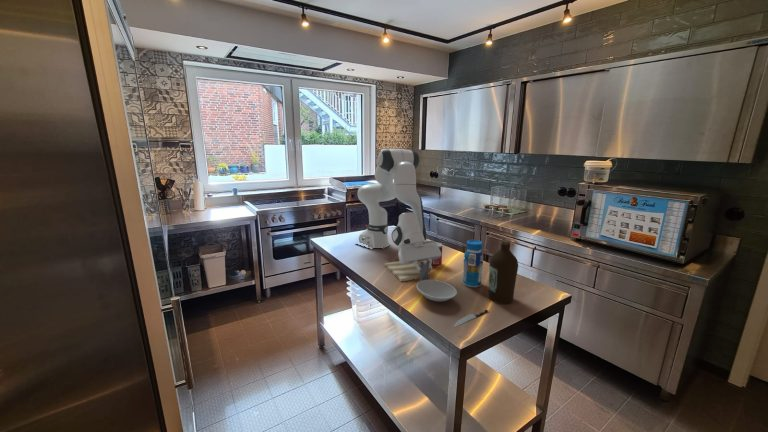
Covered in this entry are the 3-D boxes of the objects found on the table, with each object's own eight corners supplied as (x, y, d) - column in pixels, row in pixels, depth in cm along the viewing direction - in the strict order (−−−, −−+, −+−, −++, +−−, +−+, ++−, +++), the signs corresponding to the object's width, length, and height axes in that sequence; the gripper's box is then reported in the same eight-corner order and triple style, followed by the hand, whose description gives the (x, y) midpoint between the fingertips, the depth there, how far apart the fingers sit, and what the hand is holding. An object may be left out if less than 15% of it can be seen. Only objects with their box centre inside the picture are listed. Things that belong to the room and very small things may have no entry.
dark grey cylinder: (423, 282, 133) (423, 263, 131) (418, 278, 137) (418, 260, 135) (430, 281, 135) (430, 262, 132) (425, 277, 139) (426, 259, 136)
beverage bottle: (458, 281, 139) (460, 240, 134) (473, 278, 142) (475, 238, 137) (470, 289, 131) (473, 246, 126) (485, 285, 134) (488, 243, 130)
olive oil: (507, 292, 128) (513, 236, 123) (519, 304, 118) (525, 244, 112) (483, 292, 128) (487, 236, 122) (492, 305, 118) (497, 245, 112)
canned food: (444, 263, 159) (445, 244, 157) (435, 268, 154) (436, 247, 151) (432, 260, 164) (432, 241, 162) (423, 264, 159) (424, 244, 156)
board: (384, 266, 157) (384, 263, 156) (410, 261, 162) (410, 259, 162) (400, 281, 139) (400, 278, 138) (429, 276, 144) (429, 273, 144)
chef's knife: (446, 325, 106) (452, 329, 104) (446, 322, 106) (452, 326, 103) (482, 309, 116) (489, 312, 113) (482, 306, 116) (489, 309, 113)
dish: (464, 301, 121) (464, 290, 120) (441, 314, 112) (441, 302, 111) (431, 286, 134) (431, 276, 133) (408, 296, 125) (408, 285, 124)
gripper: (432, 242, 147) (442, 269, 140) (394, 248, 139) (402, 275, 133) (437, 236, 142) (448, 263, 135) (398, 241, 134) (407, 270, 128)
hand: (425, 269), depth 134 cm, fingers closed on dark grey cylinder, 4 cm apart
